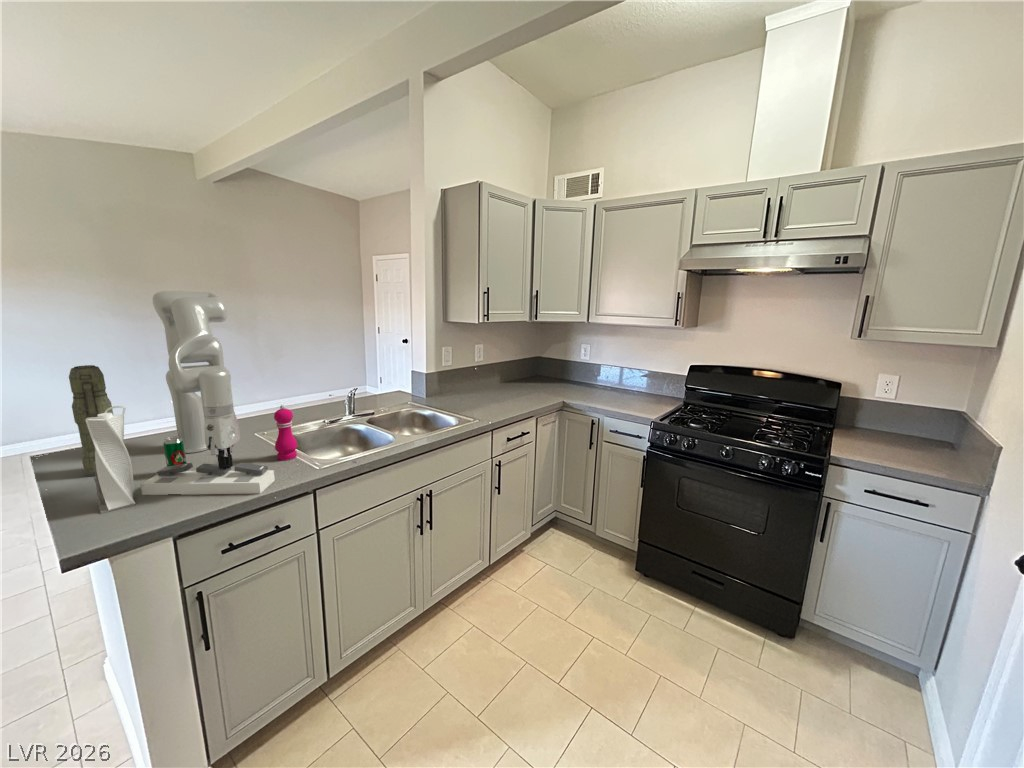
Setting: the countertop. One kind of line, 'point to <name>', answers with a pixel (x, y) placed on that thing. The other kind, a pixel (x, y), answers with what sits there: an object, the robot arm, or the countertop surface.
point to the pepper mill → (285, 434)
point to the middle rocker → (211, 469)
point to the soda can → (174, 451)
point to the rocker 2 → (251, 468)
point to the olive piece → (88, 406)
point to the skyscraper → (111, 461)
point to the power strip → (207, 483)
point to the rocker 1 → (174, 469)
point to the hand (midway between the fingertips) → (226, 467)
